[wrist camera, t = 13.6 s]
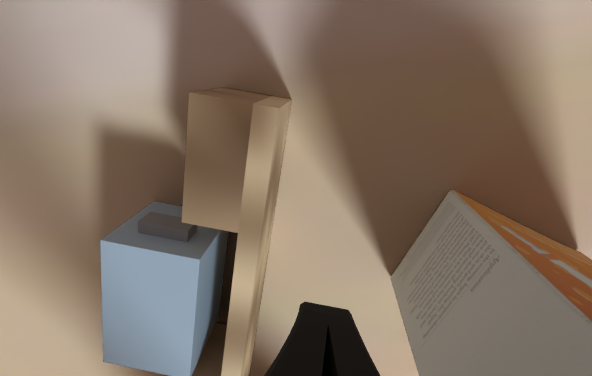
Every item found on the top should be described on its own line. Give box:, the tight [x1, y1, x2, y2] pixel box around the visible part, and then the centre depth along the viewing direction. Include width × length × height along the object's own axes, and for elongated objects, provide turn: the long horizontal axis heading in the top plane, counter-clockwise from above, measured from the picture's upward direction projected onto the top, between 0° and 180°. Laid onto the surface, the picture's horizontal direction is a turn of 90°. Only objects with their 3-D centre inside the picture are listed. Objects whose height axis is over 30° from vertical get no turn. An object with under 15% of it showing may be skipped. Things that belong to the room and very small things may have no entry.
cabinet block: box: [100, 201, 229, 376], centre depth 18 cm, size 8×4×5 cm, turn 171°
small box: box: [391, 190, 592, 376], centre depth 13 cm, size 8×6×13 cm
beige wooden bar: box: [182, 88, 292, 376], centre depth 19 cm, size 22×4×4 cm, turn 171°
